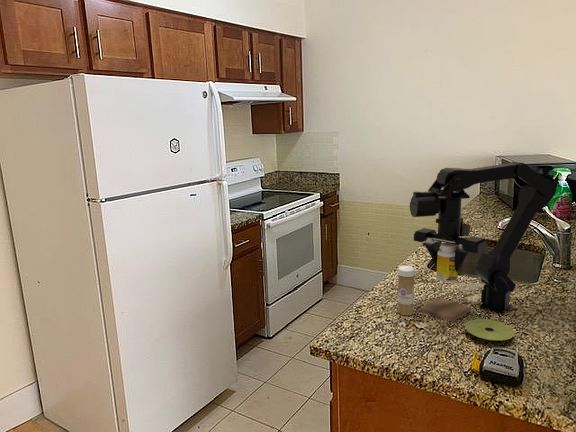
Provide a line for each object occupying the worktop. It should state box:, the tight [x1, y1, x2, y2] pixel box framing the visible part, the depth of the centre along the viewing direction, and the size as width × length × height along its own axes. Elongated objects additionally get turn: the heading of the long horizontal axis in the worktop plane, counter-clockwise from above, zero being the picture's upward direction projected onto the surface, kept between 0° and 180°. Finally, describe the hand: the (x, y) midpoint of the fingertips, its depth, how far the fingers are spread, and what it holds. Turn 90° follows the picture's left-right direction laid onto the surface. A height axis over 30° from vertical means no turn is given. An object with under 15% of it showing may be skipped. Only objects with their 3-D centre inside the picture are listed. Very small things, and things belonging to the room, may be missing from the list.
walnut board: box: [419, 297, 472, 323], centre depth 123 cm, size 10×10×1 cm
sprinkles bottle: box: [396, 265, 416, 316], centre depth 121 cm, size 5×5×14 cm
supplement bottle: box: [435, 242, 458, 283], centre depth 120 cm, size 6×6×10 cm
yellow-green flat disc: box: [464, 318, 516, 341], centre depth 108 cm, size 11×11×2 cm
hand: (447, 269), depth 120 cm, fingers closed on supplement bottle, 5 cm apart
